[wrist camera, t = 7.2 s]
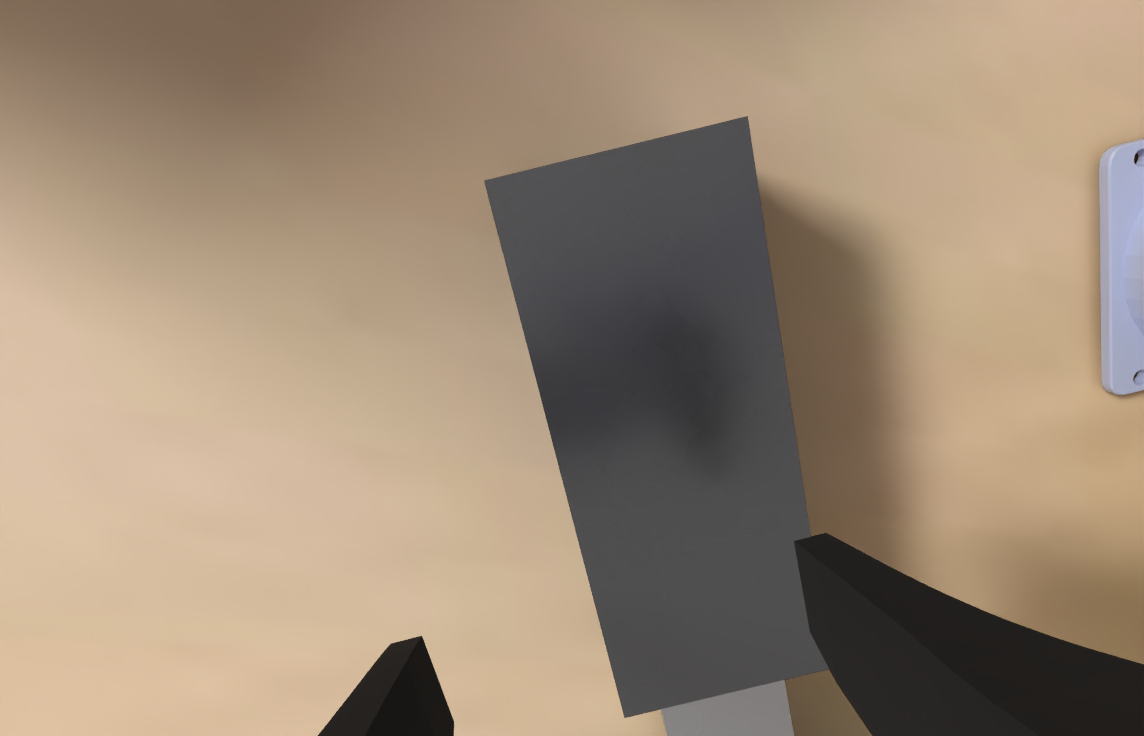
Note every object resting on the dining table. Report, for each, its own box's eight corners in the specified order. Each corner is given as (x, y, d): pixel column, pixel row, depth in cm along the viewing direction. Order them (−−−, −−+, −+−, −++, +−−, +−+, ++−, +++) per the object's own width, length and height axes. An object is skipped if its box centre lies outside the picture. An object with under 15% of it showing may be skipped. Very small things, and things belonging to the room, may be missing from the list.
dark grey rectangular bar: (685, 144, 18) (747, 116, 13) (757, 554, 22) (830, 669, 16) (500, 188, 18) (484, 180, 13) (602, 591, 22) (624, 717, 16)
